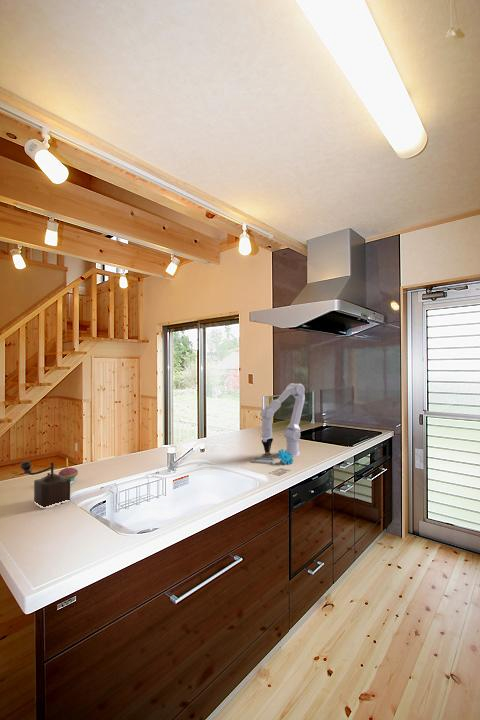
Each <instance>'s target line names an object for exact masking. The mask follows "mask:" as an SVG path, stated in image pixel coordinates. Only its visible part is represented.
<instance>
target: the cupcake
mask: <svg viewBox="0 0 480 720" xmlns="http://www.w3.org/2000/svg"><path fill="white" fill-rule="evenodd" d="M65 465H66V467H64V468H63V469H61V470H60V471H59V472H58V475H59V474H60V475H62V476H64V477H67V478H69V479H70V482H71V481H74V482H75V479H76V477H77V476H78V475H79V471H78V469H77V468H74V467H69V460H68V458H66V463H65Z"/></svg>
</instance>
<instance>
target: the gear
mask: <svg viewBox="0 0 480 720" xmlns="http://www.w3.org/2000/svg"><path fill="white" fill-rule="evenodd" d="M277 457H278V459H280V463H283V465H289V466H290V465H292V464H293V462H294V457H295V456H294V455H292V456H290V452H289V453H287V449H285V450H284V449H283V448H282V449H279V450H278V452H277Z"/></svg>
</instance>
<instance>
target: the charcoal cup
mask: <svg viewBox="0 0 480 720" xmlns="http://www.w3.org/2000/svg"><path fill="white" fill-rule="evenodd" d="M261 458H274V454H273V453H271V452H270V455H269V456H266V455H265V453H262V454H261Z"/></svg>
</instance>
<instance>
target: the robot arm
mask: <svg viewBox="0 0 480 720" xmlns="http://www.w3.org/2000/svg"><path fill="white" fill-rule="evenodd" d="M305 391H306V388H305V387H304V385H303V384H302V383H295V382H294V383H293V382H291V383H289V384H288V385H287V386H286V388H285V389H284V390H283V392H282V393H281V394H280V395H279V396H278V398H277V399H272V400H271V401H270V403H269V404H268V405H266V406H265V408H263V409H262V410H261V412H260V416H261V418H262V419H261V420H262V435H260V438H262V439H261V443H262V445H263V449H264V453H265V452H269V447H270V450H271V449H272V443H273V441H274V438H273V418H274V415H275V413H276V412H277V411H278V410H279V409H280V408H281V407H282V403H283V402H284V401H285V400H286V399H288V397H289V396H293V397H294V399H295V402H294V405H293V409H292V414H291V417H290V421H289V422H290V423H289V424H288V425H287V426H286V428H285V430H284V432H283V434H284V437H285V439H286V450H287V452H286V453H289V452H290V456H292V455H294V457H299V455H300V453H301V452H300V451H299V440H300V439H301V428H300V426H299V425H300V422H301V417H302V414H303V413H302V412H303V408H304V405H305V401H306V395H305Z"/></svg>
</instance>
